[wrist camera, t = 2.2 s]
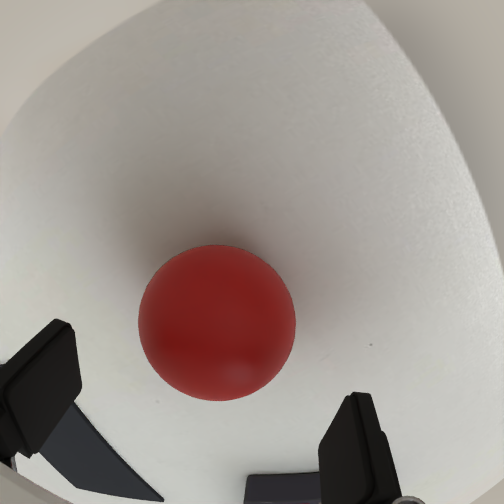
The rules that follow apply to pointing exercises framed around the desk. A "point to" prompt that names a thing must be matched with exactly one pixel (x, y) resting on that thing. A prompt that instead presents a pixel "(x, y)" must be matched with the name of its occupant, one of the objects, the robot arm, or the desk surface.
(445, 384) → the desk surface
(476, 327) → the desk surface
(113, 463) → the side mat
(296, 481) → the calculator
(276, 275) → the red ball
